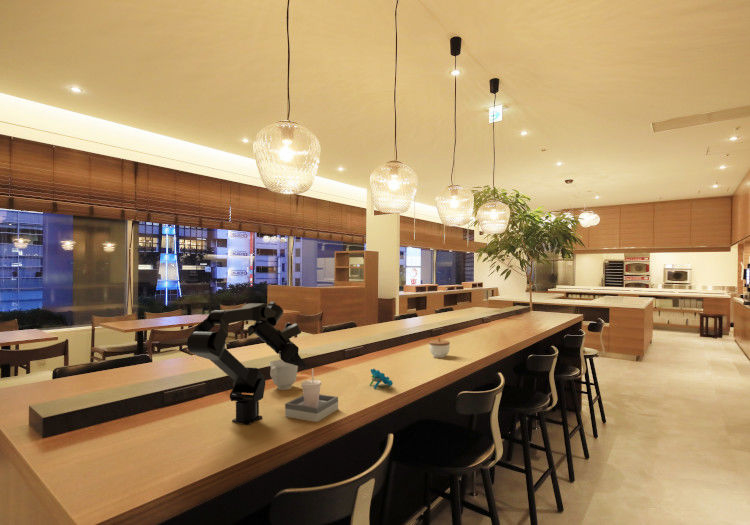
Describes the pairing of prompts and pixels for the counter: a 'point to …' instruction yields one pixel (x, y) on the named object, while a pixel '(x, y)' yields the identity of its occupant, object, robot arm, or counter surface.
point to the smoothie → (311, 391)
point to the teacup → (283, 374)
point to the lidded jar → (439, 348)
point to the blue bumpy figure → (379, 378)
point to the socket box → (311, 408)
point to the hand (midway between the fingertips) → (302, 363)
